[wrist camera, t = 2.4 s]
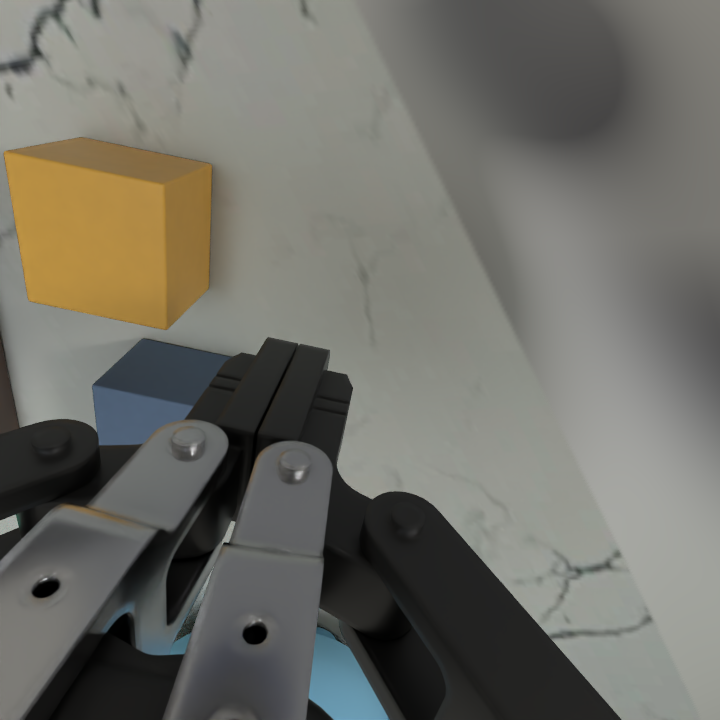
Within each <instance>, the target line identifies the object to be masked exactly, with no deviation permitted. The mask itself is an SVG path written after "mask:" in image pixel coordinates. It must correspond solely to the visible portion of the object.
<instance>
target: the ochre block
mask: <svg viewBox="0 0 720 720" xmlns="http://www.w3.org/2000/svg"><path fill="white" fill-rule="evenodd" d="M4 159H5V165H6V171H7V177H8V183H9V189H10V195H11V201H12V207H13V213H14V219H15V225H16V231H17V237H18V243H19V248H20V254H21V260H22V266H23V272H24V278H25V284H26V290H27V296H28V300H29V301H30V302H35V303H40V304H44V305H49V306H54V307H59V308H63V309H68V310H73V311H78V312H82V313H87V314H92V315H97V316H101V317H106V318H111V319H116V320H120V321H125V322H130V323H135V324H139V325H144V326H149V327H154V328H158V329H163V330H167V329H168V328H169V327H170V326H171V325H172V324H173V323H174V322H175V321H176V320H178V319H179V318H180V317H181V316H182V315H183V314H184V313H185V312H186V311H187V310H188V309H189V308H190V307H191V306H192V305H193V304H194V303H195V302H196V301H197V300H198V299H199V298H200V297H201V296H202V295H203V294H204V293H205V292H206V291H207V290H208V289H209V261H210V223H211V186H212V165H211V164H209V163H204V162H199V161H194V160H190V159H185V158H180V157H175V156H170V155H165V154H161V153H156V152H151V151H146V150H141V149H136V148H131V147H127V146H122V145H117V144H112V143H107V142H102V141H97V140H93V139H88V138H83V137H79V138H74V139H68V140H63V141H57V142H52V143H47V144H41V145H36V146H30V147H25V148H19V149H14V150H8V151H5V152H4Z"/></svg>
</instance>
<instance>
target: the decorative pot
mask: <svg viewBox="0 0 720 720" xmlns="http://www.w3.org/2000/svg"><path fill="white" fill-rule="evenodd" d="M190 636H191V634H188V635H186V636H184V637H182V638H180V639H179V640H177V641H175V642H174V643H173V646H172V648H171V651H170V654H169V655H174V654H185V651H186V648H187V645H188V642H189V639H190ZM309 699H311V700H312V701H313V702H315V703H316V704H317V705H318V706H320V707H321V708H322V709H323V710H324V711H325V712H326V713H327V714H328V715H329V716H330V717H331V718H333V719H334V720H390V719H389V718H388V716H387V714H386V712H385V710H384V709H383V707H382V705H381V703H380V702H379V700H378V698H377V696H376V694H375V693H374V691H373V689H372V687H371V685H370V684H369V682H368V680H367V678H366V677H365V675H364V673H363V671H362V669H361V668H360V666H359V664H358V662H357V660H356V659H355V657H354V655H353V653H352V652H351V650H350V648H349V647H347V646H346V645H344V644H342V643H340V642H338V641H337V640H336V639H335V637H334V636H333V635H332V634H331V633H330V632H329V631H327V630H325V629H323V628H319V627H317V629H316V637H315V646H314V655H313V663H312V672H311V680H310V689H309Z"/></svg>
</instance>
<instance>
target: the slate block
mask: <svg viewBox="0 0 720 720" xmlns="http://www.w3.org/2000/svg"><path fill="white" fill-rule="evenodd" d="M231 358H232V357H228V356H224V355H219V354H214V353H209V352H205V351H200V350H195V349H190V348H186V347H181V346H176V345H171V344H167V343H162V342H157V341H152V340H148V339H141V340H140V341H139V342H138V343H137V344H136V345H135V346H134V347H133V348H132V349H131V350H130V351H128V352H127V353H126V354H125V355H124V356H123V357H122V358H121V359H120V360H119V361H118V362H117V363H116V364H114V365H113V366H112V367H111V368H110V369H109V370H108V371H107V372H106V373H105V374H104V375H103V376H102V377H100V378H99V379H98V380H97V381H96V382H95V383H94V384H93V386H92V390H93V399H94V408H95V417H96V426H97V434H98V438H99V445H136V444H143V443H144V442H145V441H146V440H147V439H148V438H149V437H150V436H151V435H152V433H154V432H155V431H156V430H157V429H159V428H160V427H162V426H164V425H166V424H168V423H171V422H175V421H179V420H184V419H185V418H186V416H187V415H188V414H189V412H190V411H191V409H192V408H193V406H194V405H195V404H196V402H197V401H198V399H199V398H200V397H201V395H202V394H203V392H204V391H205V389H206V388H207V387H209V384H210V382H211V381H212V380H213V378H214V377H215V376H216V375H217V372H218V371H219V370H220V368H221V367H222V365H223V364H224V363H225V361H227V360H229V359H231Z"/></svg>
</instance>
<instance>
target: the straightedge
mask: <svg viewBox="0 0 720 720" xmlns="http://www.w3.org/2000/svg"><path fill="white" fill-rule="evenodd" d="M15 429H19V425H18V420H17V415H16V410H15V405H14V400H13V395H12V391H11V386H10V381H9V376H8V371H7V366H6V361H5V357H4V352H3V347H2V342H1V337H0V434H2V433H5V432H9V431H12V430H15Z"/></svg>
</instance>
